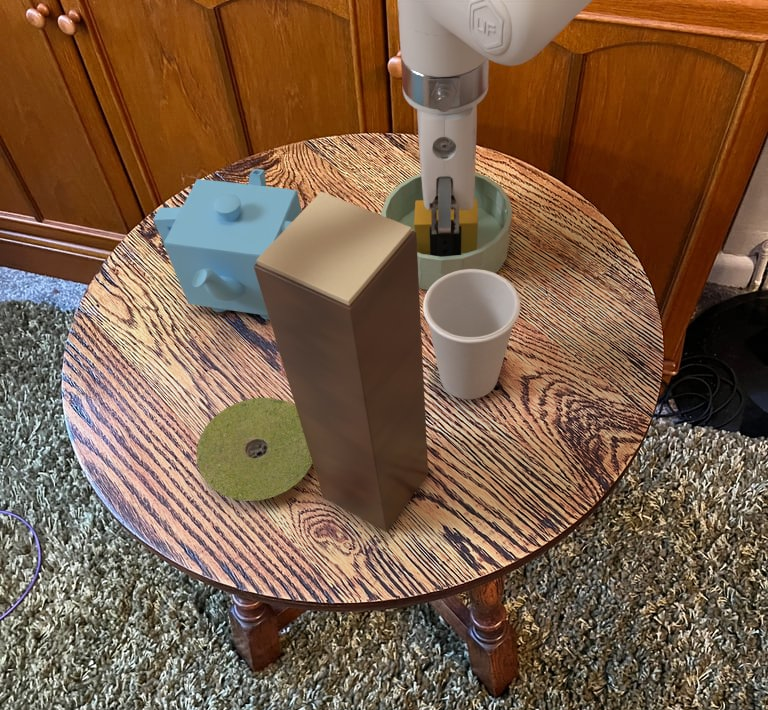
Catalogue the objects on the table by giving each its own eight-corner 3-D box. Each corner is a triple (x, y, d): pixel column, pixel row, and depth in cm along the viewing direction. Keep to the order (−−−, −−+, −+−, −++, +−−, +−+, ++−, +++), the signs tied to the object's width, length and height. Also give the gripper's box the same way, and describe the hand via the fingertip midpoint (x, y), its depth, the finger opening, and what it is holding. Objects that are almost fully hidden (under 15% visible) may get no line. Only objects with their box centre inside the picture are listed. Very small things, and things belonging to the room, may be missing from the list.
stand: (428, 474, 70) (416, 226, 45) (386, 533, 68) (349, 304, 43) (365, 441, 72) (320, 188, 47) (322, 497, 70) (251, 260, 45)
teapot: (342, 241, 85) (327, 151, 75) (293, 368, 77) (270, 287, 67) (209, 224, 88) (178, 136, 78) (150, 346, 80) (107, 264, 70)
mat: (251, 391, 76) (246, 379, 74) (343, 439, 73) (341, 428, 71) (178, 475, 72) (171, 464, 70) (272, 531, 69) (267, 521, 67)
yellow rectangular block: (476, 229, 84) (477, 198, 80) (476, 253, 82) (477, 223, 78) (416, 230, 84) (415, 200, 81) (415, 254, 82) (414, 224, 79)
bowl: (531, 228, 84) (535, 193, 80) (468, 309, 79) (469, 277, 75) (426, 188, 88) (425, 154, 84) (361, 263, 83) (356, 231, 79)
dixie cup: (530, 382, 74) (540, 309, 65) (460, 425, 72) (461, 356, 64) (477, 329, 78) (480, 253, 69) (409, 369, 76) (404, 296, 67)
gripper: (489, 135, 62) (481, 296, 78) (488, 12, 70) (481, 180, 86) (397, 138, 63) (407, 297, 79) (406, 16, 71) (414, 182, 87)
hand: (446, 234), depth 82 cm, fingers open, 5 cm apart
